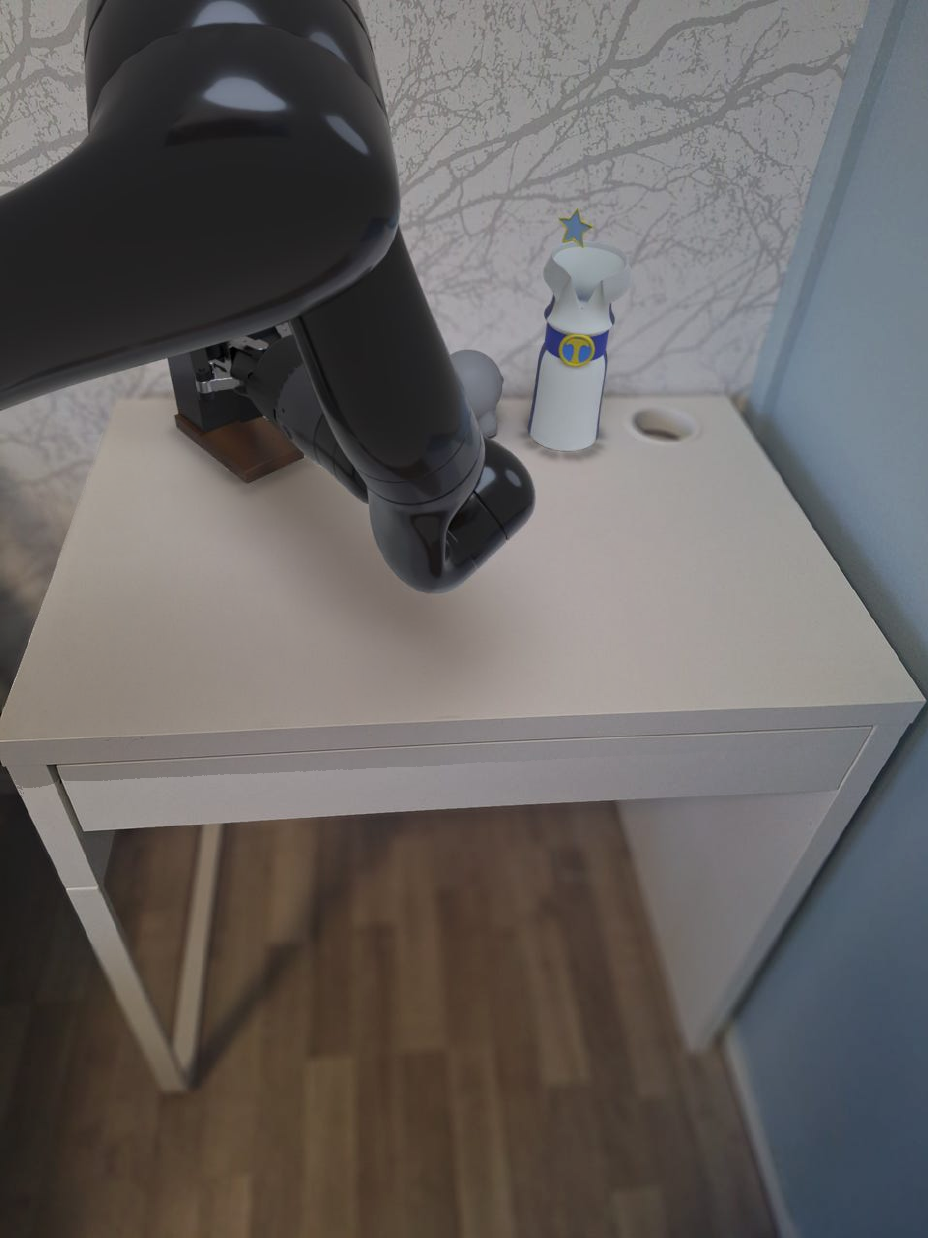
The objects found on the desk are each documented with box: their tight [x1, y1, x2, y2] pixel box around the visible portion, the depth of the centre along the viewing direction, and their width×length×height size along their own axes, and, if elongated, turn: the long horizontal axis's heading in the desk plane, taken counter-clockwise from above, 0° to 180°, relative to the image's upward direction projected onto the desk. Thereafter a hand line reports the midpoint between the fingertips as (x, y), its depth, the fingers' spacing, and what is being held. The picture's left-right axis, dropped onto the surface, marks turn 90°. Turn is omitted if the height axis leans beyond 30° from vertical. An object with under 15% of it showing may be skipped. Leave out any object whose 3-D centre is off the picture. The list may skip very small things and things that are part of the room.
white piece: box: [527, 207, 633, 452], centre depth 91 cm, size 8×9×25 cm
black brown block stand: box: [166, 352, 305, 484], centre depth 92 cm, size 7×13×10 cm, turn 44°
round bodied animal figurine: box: [450, 349, 505, 438], centre depth 97 cm, size 7×12×8 cm, turn 89°
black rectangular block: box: [215, 328, 273, 423], centre depth 78 cm, size 4×5×9 cm
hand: (222, 316), depth 78 cm, fingers closed on black rectangular block, 4 cm apart
